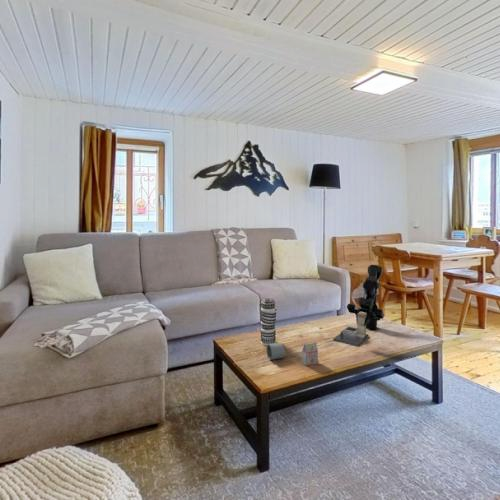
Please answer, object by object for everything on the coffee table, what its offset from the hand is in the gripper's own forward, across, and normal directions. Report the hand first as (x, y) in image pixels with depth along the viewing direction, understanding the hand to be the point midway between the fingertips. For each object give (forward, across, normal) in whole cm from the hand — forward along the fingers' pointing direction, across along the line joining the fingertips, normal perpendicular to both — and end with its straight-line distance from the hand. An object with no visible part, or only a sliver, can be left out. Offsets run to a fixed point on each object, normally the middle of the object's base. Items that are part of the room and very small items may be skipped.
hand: (360, 324), depth 175 cm
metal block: (+4, 0, +6) cm, 7 cm away
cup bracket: (+2, -9, +17) cm, 19 cm away
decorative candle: (+26, -44, -7) cm, 51 cm away
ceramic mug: (+35, -31, -16) cm, 49 cm away
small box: (+32, -14, -13) cm, 37 cm away
